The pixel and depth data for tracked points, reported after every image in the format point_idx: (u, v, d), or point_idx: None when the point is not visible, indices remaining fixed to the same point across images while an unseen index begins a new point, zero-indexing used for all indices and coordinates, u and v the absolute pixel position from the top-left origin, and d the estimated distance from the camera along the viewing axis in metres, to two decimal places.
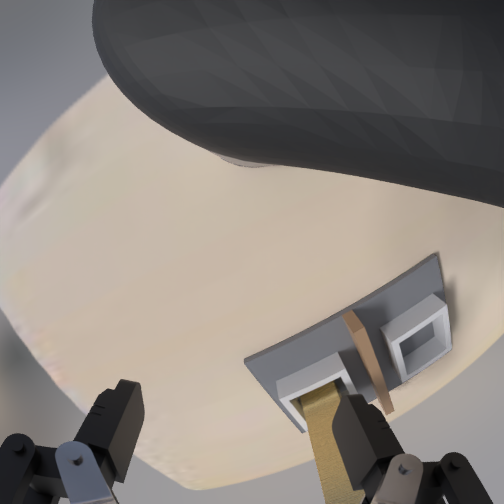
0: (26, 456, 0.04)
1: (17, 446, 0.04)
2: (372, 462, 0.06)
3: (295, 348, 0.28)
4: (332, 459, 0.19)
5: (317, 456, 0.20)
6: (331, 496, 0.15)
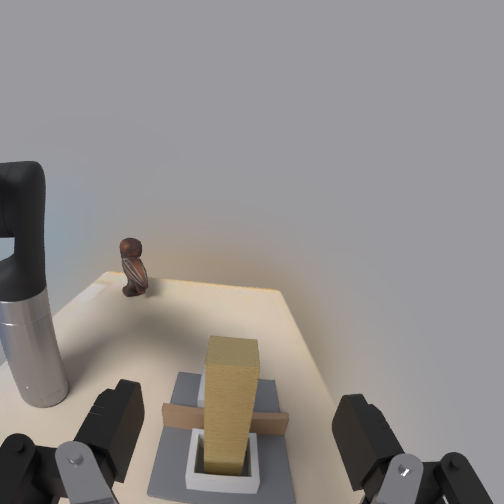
0: (26, 456, 0.04)
1: (17, 445, 0.04)
2: (372, 462, 0.06)
3: (163, 459, 0.25)
4: None
5: (204, 423, 0.21)
6: None
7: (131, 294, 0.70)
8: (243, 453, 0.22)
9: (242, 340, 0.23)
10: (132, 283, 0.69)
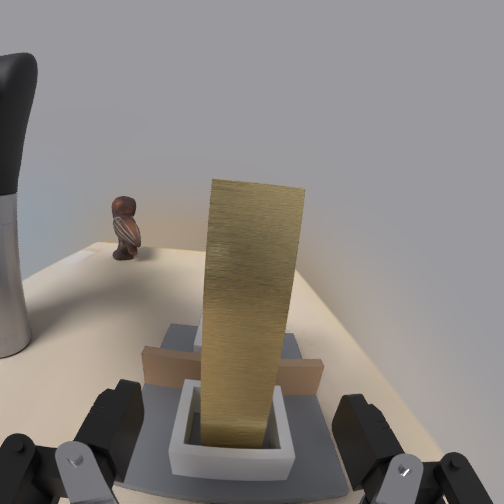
0: (26, 456, 0.04)
1: (17, 446, 0.04)
2: (372, 462, 0.06)
3: None
4: None
5: None
6: None
7: (122, 257, 0.62)
8: (268, 402, 0.14)
9: None
10: (123, 244, 0.61)
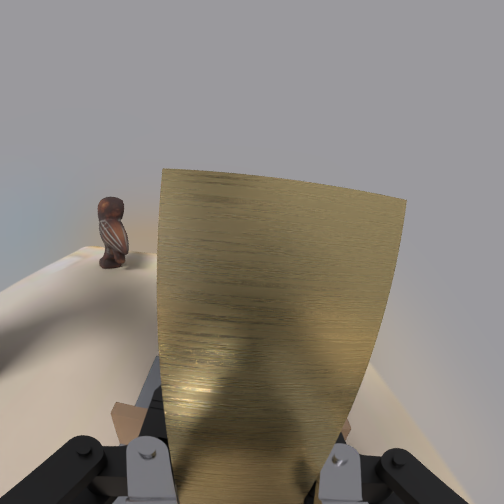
0: (94, 458, 0.05)
1: (83, 448, 0.05)
2: None
3: None
4: None
5: None
6: None
7: (108, 265, 0.54)
8: None
9: None
10: (110, 251, 0.54)
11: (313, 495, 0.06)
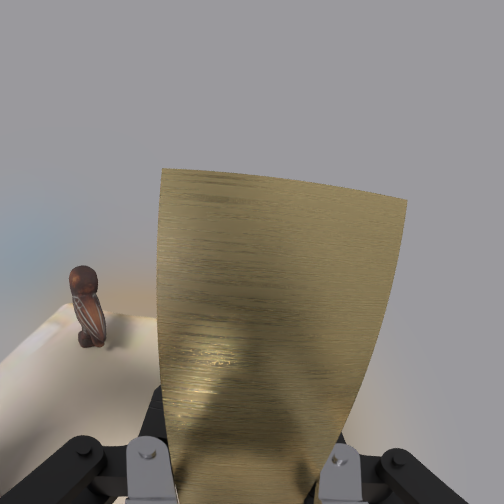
0: (94, 458, 0.05)
1: (83, 448, 0.05)
2: None
3: None
4: None
5: None
6: None
7: (87, 344, 0.45)
8: None
9: None
10: (87, 331, 0.44)
11: (313, 495, 0.06)
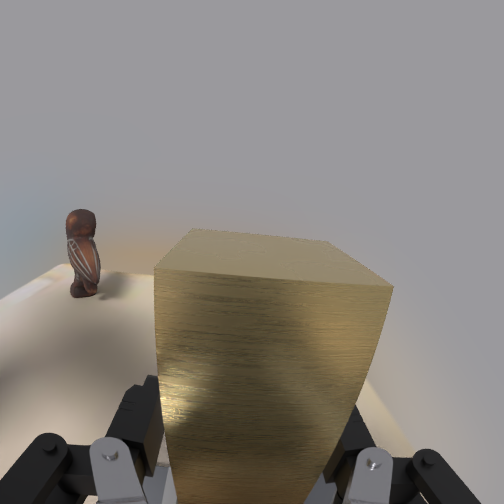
0: (59, 455, 0.05)
1: (48, 445, 0.05)
2: (341, 454, 0.07)
3: None
4: None
5: None
6: None
7: (79, 294, 0.42)
8: None
9: (287, 238, 0.08)
10: (80, 277, 0.41)
11: (343, 497, 0.06)
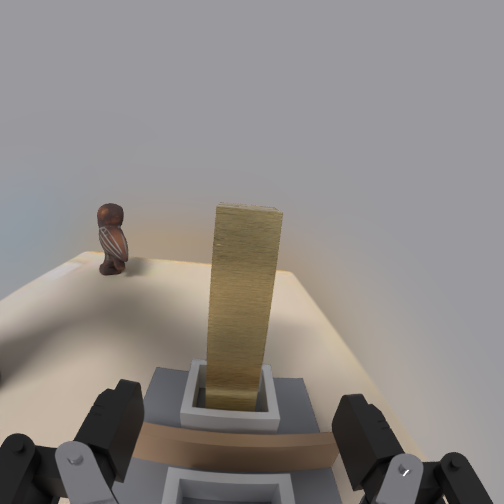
0: (26, 456, 0.04)
1: (17, 445, 0.04)
2: (372, 462, 0.06)
3: None
4: None
5: (209, 316, 0.19)
6: None
7: (108, 272, 0.55)
8: (258, 372, 0.20)
9: (257, 206, 0.21)
10: (110, 258, 0.54)
11: (370, 502, 0.06)
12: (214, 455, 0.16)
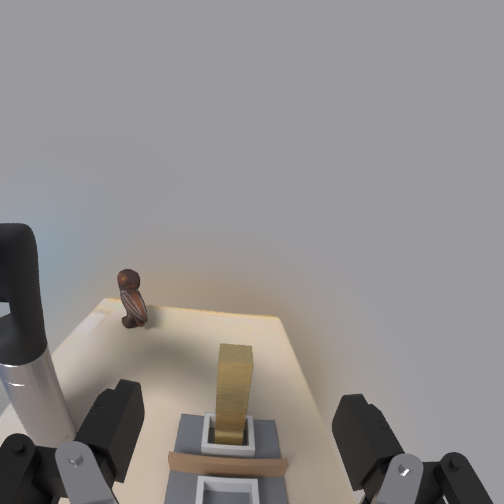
0: (26, 456, 0.04)
1: (17, 445, 0.04)
2: (372, 462, 0.06)
3: (172, 502, 0.24)
4: None
5: (216, 403, 0.33)
6: None
7: (130, 326, 0.69)
8: (243, 427, 0.34)
9: (241, 346, 0.35)
10: (131, 315, 0.68)
11: (370, 502, 0.06)
12: (220, 468, 0.29)
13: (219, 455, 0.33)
